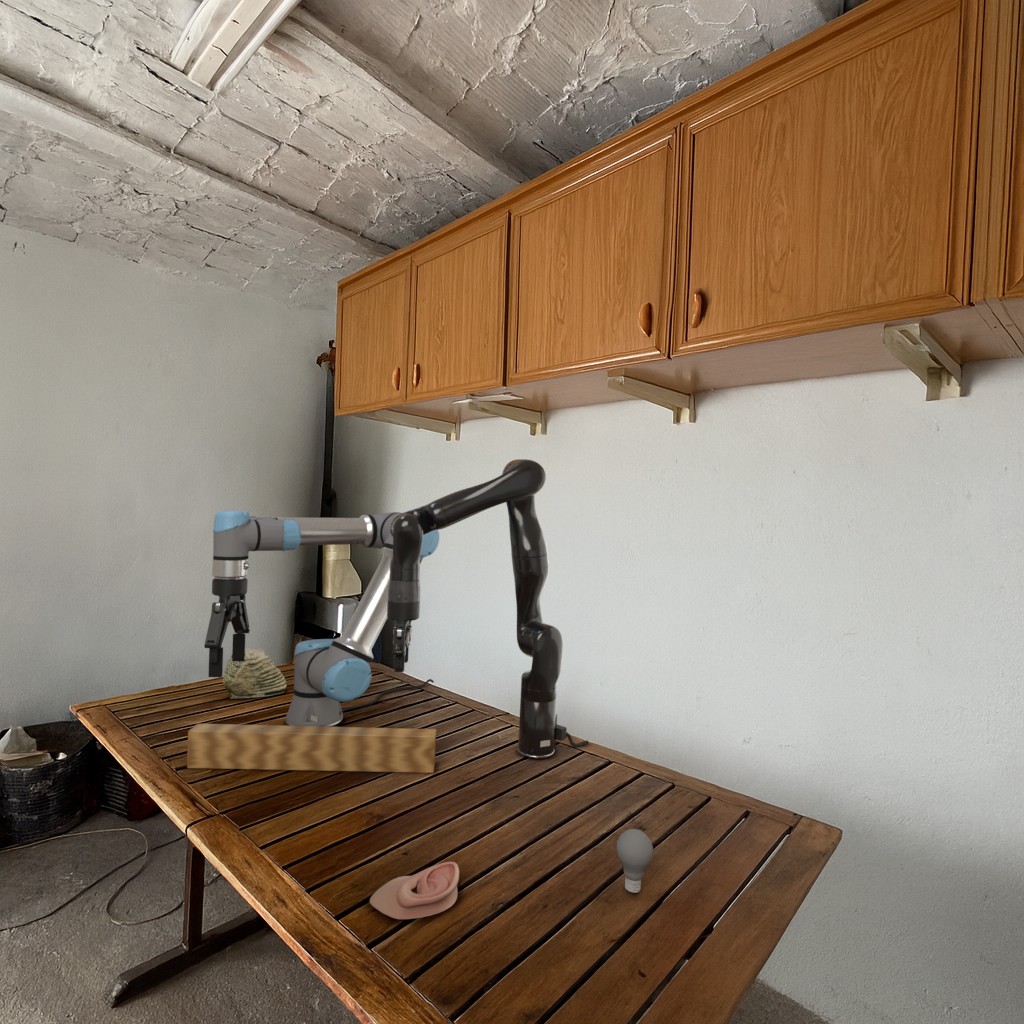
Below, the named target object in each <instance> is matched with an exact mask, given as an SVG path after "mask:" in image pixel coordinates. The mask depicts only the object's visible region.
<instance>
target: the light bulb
mask: <svg viewBox="0 0 1024 1024" xmlns="http://www.w3.org/2000/svg"><path fill="white" fill-rule="evenodd" d="M615 849H616V854H617V857H618V859H619V861H620V863H621V865H622V867H623V873H624V874H623V875H624V876H625V878H624V888H625V890H627V891H628V892H630V893H634V894H635V893H639V892H640V891H641V889H642V887H641V886H642V879H643V877H644V875H645V871H646V868H647V867H648V866H649V864H650V863H651V861H652V859H653V855H654V847H653V843H652V841H651V838H649V836H648V835H647V834H646V833H645V832H643V831H642V830H641V829H636V828H629V829H627V830H625V831H623V832H622V833H621V834H620V835H619V837H618V839H617V841H616V847H615Z"/></svg>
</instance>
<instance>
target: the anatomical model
mask: <svg viewBox="0 0 1024 1024" xmlns="http://www.w3.org/2000/svg"><path fill="white" fill-rule="evenodd" d="M459 879H460V868H459V865H458V864H457V863H456V862H455V861H446V862H442V863H438V864H435V865H433V866H430V867H427V868H425V869H423V870H421V871H418V872H417V873H415V874H412V875H402V876H398V877H395V878H393V879H391V880H389V881H387V882H386V883H384V884H383V885H381V886H380V887H379V888H378V889H377V890H376V891H375V892H374V893H372V895H371V897H370V898H369V904H370V905H371V906H372V907H373V908H374V909H375V910H376V911H379V912H380V913H381V914H383V915H385V916H387V917H390V918H392V919H395V920H412V919H420V918H425V917H430V916H434V915H437V914H440V913H442V912H445V911H446V910H448V909H450V908H451V907H452V906H453V905H454V904H455V903H456V901H457V899H458V896H459V895H458V894H459V893H458V892H459V891H458V890H459V889H458V883H459V881H460V880H459Z"/></svg>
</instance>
